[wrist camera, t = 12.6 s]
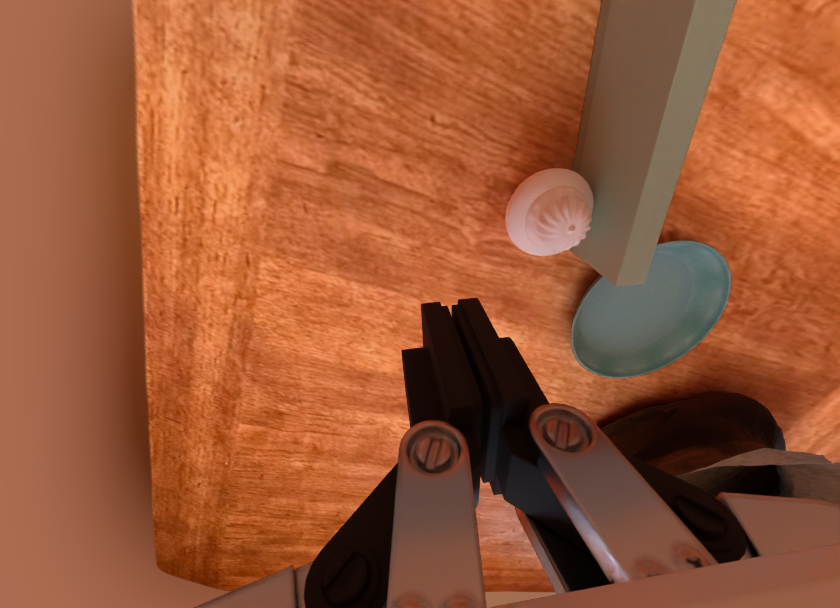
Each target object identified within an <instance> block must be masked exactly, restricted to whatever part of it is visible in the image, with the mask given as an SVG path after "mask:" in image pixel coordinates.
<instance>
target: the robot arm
mask: <svg viewBox="0 0 840 608" xmlns="http://www.w3.org/2000/svg"><path fill="white" fill-rule="evenodd" d="M421 314H422V332H423V347H422V348H414V349H406V350H402V361H403V371H404V381H405V389H406V397H407V405H408V413H409V420H410V429H409V430H408V431H407V432H406V433H405V435H404V436H403V438H402V439H401V443H400V447H399V456H398V463H397V464H396V465H395V466H394V468H393V469H392V470H391V471H390V472H389V473H388V474H387V476H386V477H385V478H384V479H383V480H382V481H381V482H380V484H379V485H378V486H377V487H376V488H375V489H374V490H373V492H372V493H371V494H370V495H369V496H368V497H367V499H366V500H365V501H364V502H363V503H362V504H361V505H360V507H359V508H358V509H357V510H356V511H355V512H354V513H353V515H352V516H351V517H350V518H349V519H348V520H347V521H346V523H345V524H344V525H343V526H342V527H341V528H340V530H339V531H338V532H337V533H336V534H335V535H334V536H333V538H332V539H331V540H330V541H329V542H328V543H327V544H326V546H325V547H324V548H323V549H322V550H321V551H320V553H319V554H318V556H317V557H316V559H315V560H314V561H312V562H310V563H307V564H305V565H303V566H301V567H298V568H296V569H295V568H294V566H293V565H291V566H289V567H287V568H284V569H282V570H280V571H277V572H275V573H273V574H271V575H268V576H266V577H264V578H261V579H259V580H257V581H254V582H252V583H250V584H247V585H245V586H243V587H240V588H238V589H236V590H234V591H231V592H229V593H227V594H224V595H222V596H220V597H218V598H215V599H213V600H211V601H208V602H206V603H204V604H201V605H199V606H197V607H194V608H487V607H486V599H485V590H484V581H483V572H482V563H481V555H480V546H479V537H478V528H477V519H476V510H475V508H476V507H477V505H478V501H479V488H480V475H481V478H482V481H483V483H486V482H490V485H491V488H492V491H493V494H494V495H497V494H503V497H504V500H506V501H507V502H509V503H510V504H512V505H513V506H515V510H516V513H517V516H518V518H519V520H520V522H521V524H522V526H523V528H524V530H525V532H526V534H527V536H528V538H529V540H530V542H531V544H532V546H533V548H534V550H535V552H536V554H537V556H538V558H539V560H540V562H541V564H542V566H543V568H544V570H545V572H546V574H547V576H548V578H549V580H550V582H551V584H552V586H553V588H554V590H555V592H556V594H557V595H552V596H547V597H541V598H536V599H531V600H526V601H520V602H515V603H510V604H505V605H500V606H495V607H489V608H840V506H838V505H836V504H834V503H830V502H826V501H821V500H816V499H803V498H790V497H777V496H764V495H751V494H738V493H725V492H720V493H719V495H718V496H717V497H715V496H713V495H711V494H709V493H708V492H706V491H704V490H703V489H701V488H699V487H697V486H695V485H693V484H690V483H688V482H686V481H684V480H682V479H680V478H678V477H676V476H673V475H671V474H669V473H667V472H665V471H663V470H661V469H659V468H656V467H654V466H652V465H650V464H648V463H646V462H644V461H642V460H639V459H637V458H635V457H633V456H631V455H629V454H627V453H624V452H622V451H620V450H618V449H617V448H616V446H615V445H614V444H613V443H612V442H611V441H610V440H609V438H608V437H607V436H606V435H605V434H604V433H603V432H602V431H601V429H600V428H599V427H598V426H597V425H596V424H595V423H594V422H593V420H591V419H590V418H589V417H588V416H587V415H586V414H585V413H583V412H582V411H580V410H578V409H576V408H574V407H571V406H568V405H565V404H558V403H551V404H549V402H548V400H547V399H546V397H545V395H544V394H543V392H542V390H541V388H540V387H539V385H538V383H537V382H536V380H535V378H534V376H533V375H532V373H531V371H530V370H529V368H528V366H527V364H526V363H525V361H524V359H523V358H522V356H521V354H520V352H519V351H518V349H517V347H516V346H515V344H514V342H513V341H512V339H511V338H509V337H505V338H499V337H498V335H497V333H496V331H495V329H494V328H493V326H492V324H491V322H490V320H489V318H488V316H487V314H486V313H485V311H484V309H483V307H482V305H481V303H480V301H479V300H478V298H469V299H460V300H458V305H452V317H451V314H450V311H449V309H448V306H441V303H440V302H433V303H424V304H421Z"/></svg>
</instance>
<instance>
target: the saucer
mask: <svg viewBox="0 0 840 608" xmlns="http://www.w3.org/2000/svg"><path fill="white" fill-rule="evenodd" d="M730 290H731V273H730V270H729V266H728V263H727V261H726V259H725V258H724V257H723V255H722V254H721V253H720V252H719V251H717V250H716V249H715V248H713V247H712V246H710V245H707V244H705V243H701V242H698V241H691V240H677V241H669V242H664V243H659V244H657V246H656V249H655V252H654V255H653V258H652V261H651V264H650V267H649V270H648V273H647V276H646V279H645V282H644V284H636V285H626V286H615V285H613V284H612V283H611V282H610V281H608V280H607V279H606V278H605V277H603V276H602V275H601V274H600V275H599V276H598V277H597V278H596V279H595V280H594V282H593V283H592V284H591V285H590V286H589V288H588V289H587V290H586V292H585V293H584V295H583V296H582V298H581V300H580V302H579V304H578V306H577V308H576V311H575V314H574V317H573V321H572V326H571V347H572V351H573V353H574V356H575V358H576V359H577V361H578V362H579V363H580V365H581V366H582V367H584V368H585V369H586V370H588V371H589V372H591V373H593V374H596V375H599V376H602V377H607V378H631V377H637V376H641V375H646V374H649V373H652V372H654V371H657V370H659V369H662V368H663V367H666V366H668V365H670V364H672V363H673V362H675V361H677V360H678V359H680V358H681V357H683V356H684V355H686V354H687V353H688V352H690V351H691V350H692V349H694V348H695V347H696V346H697V345H698V344H699V343H700V342H701V341H702V340H703V339H704V338H705V337H706V336H707V335H708V334H709V332H710V331H711V330H712V329H713V328H714V326H715V325H716V323H717V322H718V320H719V318H720V317H721V315H722V313H723V312H724V310H725V307H726V305H727V301H728V298H729V295H730Z"/></svg>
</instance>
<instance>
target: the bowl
mask: <svg viewBox="0 0 840 608" xmlns="http://www.w3.org/2000/svg"><path fill="white" fill-rule="evenodd" d="M600 429H601V431H602V432H603V433H604V434H605V435H606V436H607V437H608V438H609V440H610V441H611V442H612V443H613V444H614V445H615V446H616V448H617V449H618V450H620V451H622V452H624V453H627V454H629V455H631V456H633V457H635V458H637V459H639V460H642V461H644V462H646V463H648V464H650V465H652V466H654V467H656V468H659V469H661V470H663V471H665V472H667V473H669V474H671V475H673V476H676V477H678V478H680V479H682V480H684V481H686V482H688V483H690V484H693V485H695V486H697V487H699V488H701V489H703V490H704V491H706V492H708V493H709V494H711V495H713V496H715V497H717V496H718V495H719V493H720V492H725V493H738V494H751V495H764V496H777V497H790V498H803V499H816V500H821V501H826V502H830V503H834V504H836V505H838V506H840V463H832V462H831V461H828V460H827V459H826V458H825V457H824V456H823V455H816V454H810V453H805V452H791V451H786V447H785V441H784V437H783V433H782V429H781V428H780V427H779V426H778V425H777V423H776V421H775V419H774V418H773V416H772V414H771V413H770V411H769V410H768V409H767V408H766V407H764V406H763V405H762V404H761V403H759V402H758V401H756V400H754V399H752V398H749V397H747V396H745V395H742V394H739V393H730V392H710V393H704V394H702V395H700V396H698V397H695V398H692V399H688V400H681V401H675V402H671V403H668V404H665V405H657V406H652V407H648V408H643V409H640V410H638V411H636V412H634V413H632V414H630V415H627V416H625V417H623V418H620V419H618V420H616V421H614V422H612V423H610V424H608V425H606V426H604V427H602V428H600Z"/></svg>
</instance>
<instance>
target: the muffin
mask: <svg viewBox="0 0 840 608" xmlns="http://www.w3.org/2000/svg"><path fill="white" fill-rule="evenodd" d="M593 205H594V199H593V193H592V190H591V188H590V186H589V184H588V183H587V181H586V180H585V179H584V178H583V177H582V176H581V175H579V174H578V173H576V172H574V171H572V170H568V169H563V168H551V169H545V170H542V171H539V172H537V173H535V174H533V175H531V176H530V177H529V178H526V179H525V180H524V182H523V183H520V184H519V186H518V188H517V189H515V190H514V194H513V195H511V196H510V201H509V202H508V204H507V206H508V207H507V210H506V218H505V222H506V229H507V232H508V235H509V237H510V239H511V241H512V242H513V243H514V244H515V246H517V247H518V248H519V249H520V250H522V251H524V252H526V253H528V254H532V255H537V256H549V255H554V254H557V253H560V252H562V251H564V250H569V249H570V248H572V246H577V245H578V244H579V243H580V240H581V239H585V238H586V231H588V230H590V229H591V227H590V226H589V223H590V222H591V221H592V219H593V218H592V217H591V216H592V212H593Z"/></svg>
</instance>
